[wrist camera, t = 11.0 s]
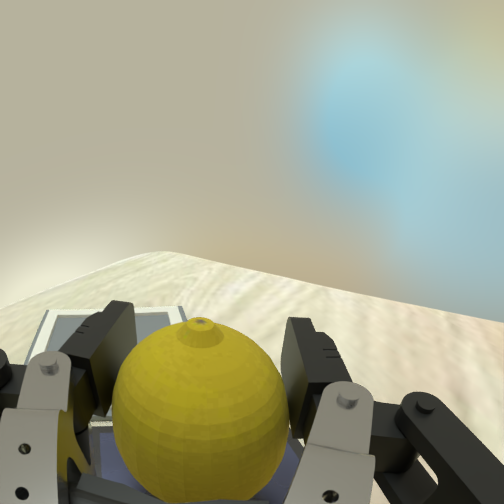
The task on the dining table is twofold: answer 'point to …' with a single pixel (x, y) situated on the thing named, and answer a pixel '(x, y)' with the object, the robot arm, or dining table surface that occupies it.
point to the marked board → (68, 320)
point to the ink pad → (116, 470)
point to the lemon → (200, 413)
